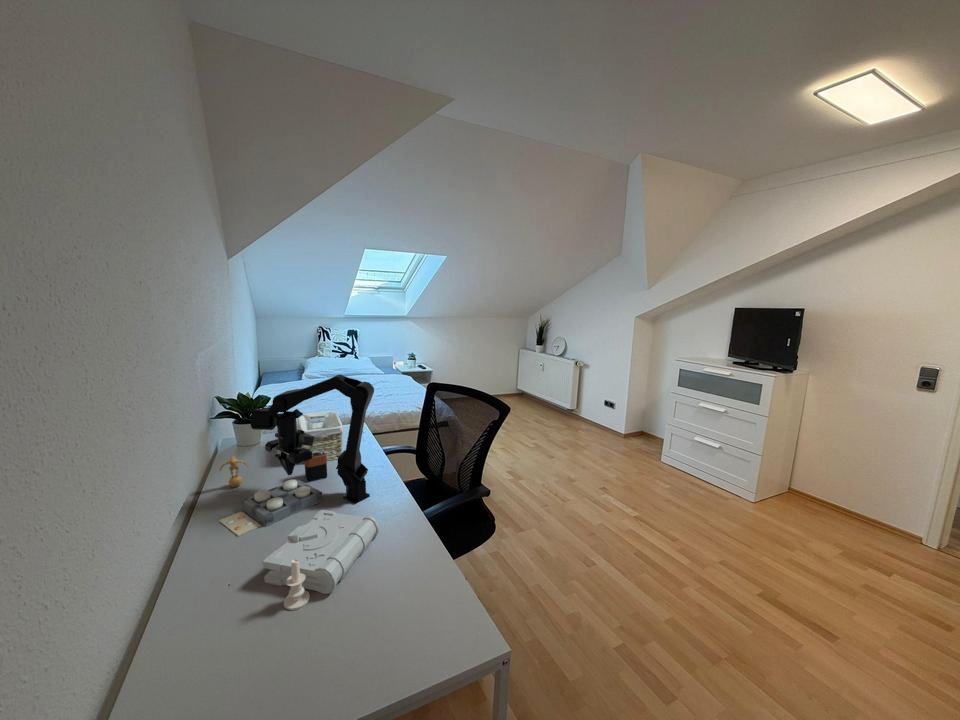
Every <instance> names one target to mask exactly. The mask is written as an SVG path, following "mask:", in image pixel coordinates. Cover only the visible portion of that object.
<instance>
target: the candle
mask: <svg viewBox="0 0 960 720" xmlns="http://www.w3.org/2000/svg"><path fill="white" fill-rule="evenodd" d="M291 574H292V575H291V576H290V577H289V578H288V579H287V580H286V584H287V585H288V587H290V589H289V590H288V595H287V596H286V597H285V598H284V600H283V607H284V608H285V609H286V610H288V611H296V610H297V611H298V610H299V609H301V608H304V607H305V606H306V605H307V604H308V603H309V601H310V599H311V596H310V593H309V591H307V590H305V589H304V587H303V586H302V582H303V581H304V580H305V578H306V577H305V575H304V574H302V573H300V569H299V561H298V560H296V559H295V560H292V561H291ZM287 585H286V586H287Z"/></svg>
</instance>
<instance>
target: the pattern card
mask: <svg viewBox="0 0 960 720" xmlns="http://www.w3.org/2000/svg"><path fill="white" fill-rule="evenodd" d="M219 522H220V523H221V524H222V525H223V526H224V527H226V528H228V530H230V531H231V532H233V534H235V535H236V536H237V537H240V536H243V535H244V534H246V533H249V532H251V531H253V530H255V529H258V528H260V527H261V524H260V523H258V522H257V521H256V520H254V519H252V518H251V517H250V516H248V515H247V514H246V513H244V512H243V511H239V512H236V513H234V514H231V515H229V516H227V517H224V518H222V519H219Z"/></svg>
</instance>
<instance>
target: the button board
mask: <svg viewBox="0 0 960 720" xmlns="http://www.w3.org/2000/svg"><path fill="white" fill-rule="evenodd" d="M295 480H297V486H298V487H297V488H299V487H303V486H308V487H310V496H307V497H305V498H303V499H298V498H296V497H295V490H296V489H294V490H292V491H289V492H286V491H283V484H280V485H277V486H275V487H273V488H270V489H268V490H269V491H270V497H271V498H270V499H272V498H277V497H279V498H282V499H283V507H282V508H280V509H278V510H275V511H268V510H267V501H268V500H267V501H265V502H263V503H256V502H255V500H254V495H252V496H250V497H246V498H244V499H242V500H241V508H242V510H243V511H244V512H246V513H247V514H248V515H250V516H251V517H253V518H254V519H255V520H257V521H258V522H260V523H261V524H263V525H264V526H266V527H269V526H270V525H274V524H275V523H277V522H279V521H282V520H284V519H286V518H288V517H290V516H292V515H294V514H296V513H299V512H300V511H303V510H306V509H307V508H310V507H312V506H314V505H316V504H319V503H321V502H322V501H323V499H324V498H323V492H322V491H320V490H319V489H317V488H315V487H313V486H311V485H309V484H307V483H305V482H304V481H302V480H299V479H298V478H297V479H295Z"/></svg>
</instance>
